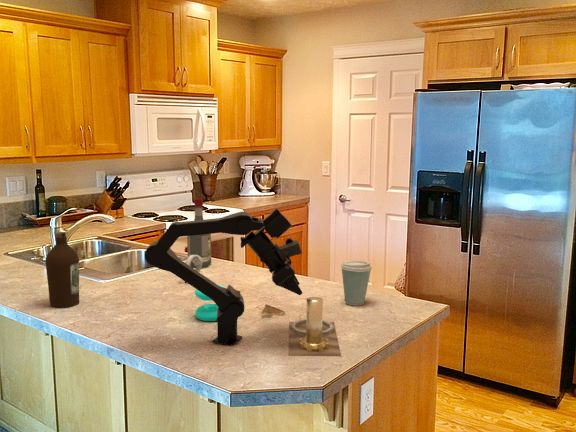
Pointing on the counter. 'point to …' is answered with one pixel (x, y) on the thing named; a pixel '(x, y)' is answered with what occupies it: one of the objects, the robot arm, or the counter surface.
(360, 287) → the disposable coffee cup
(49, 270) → the olive oil
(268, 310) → the shard
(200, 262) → the watch
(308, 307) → the gold piece
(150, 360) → the counter surface
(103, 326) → the counter surface
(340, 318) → the counter surface
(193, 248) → the liquor
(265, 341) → the counter surface
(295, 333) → the carrier plate
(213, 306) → the turquoise yo-yo shaped spool
